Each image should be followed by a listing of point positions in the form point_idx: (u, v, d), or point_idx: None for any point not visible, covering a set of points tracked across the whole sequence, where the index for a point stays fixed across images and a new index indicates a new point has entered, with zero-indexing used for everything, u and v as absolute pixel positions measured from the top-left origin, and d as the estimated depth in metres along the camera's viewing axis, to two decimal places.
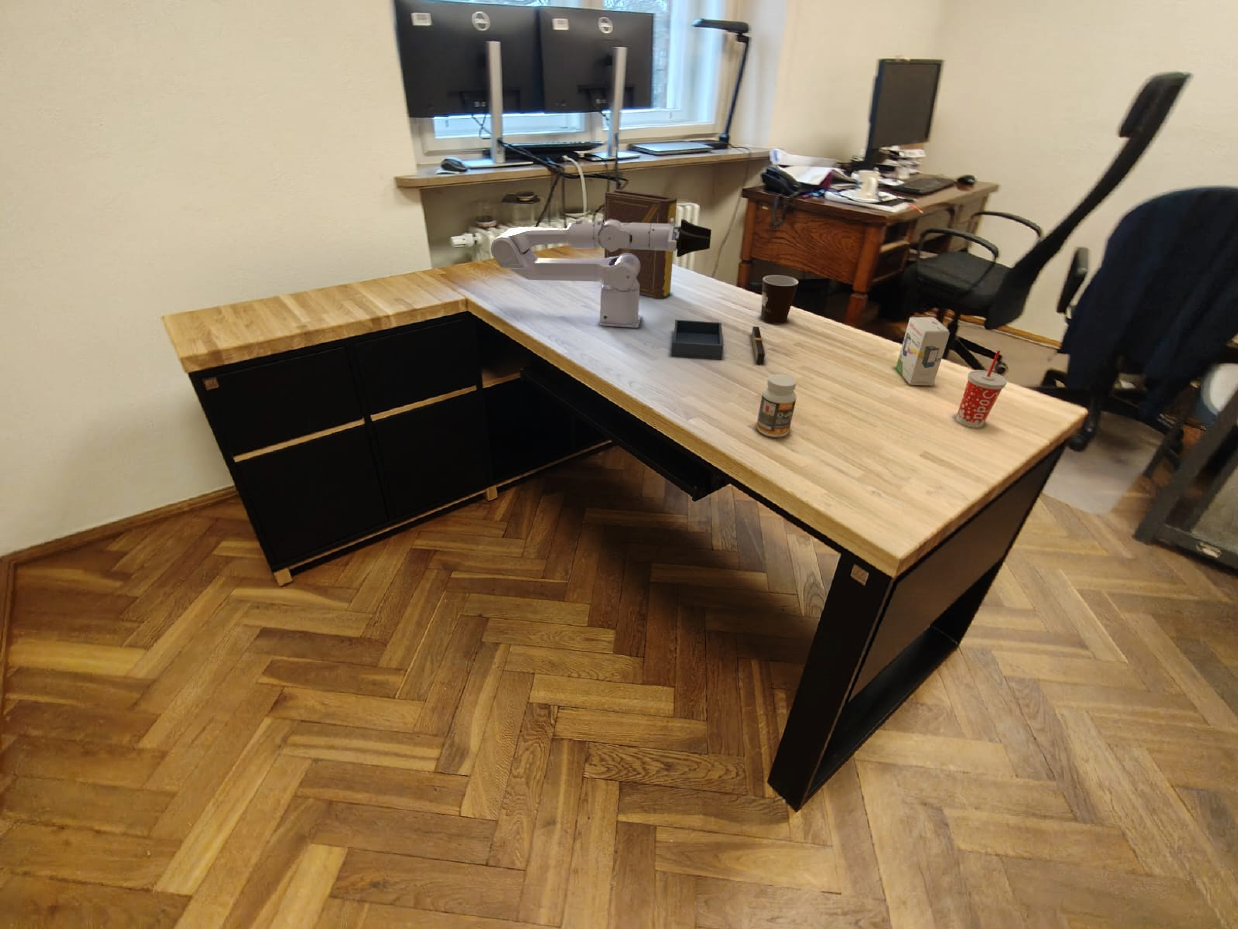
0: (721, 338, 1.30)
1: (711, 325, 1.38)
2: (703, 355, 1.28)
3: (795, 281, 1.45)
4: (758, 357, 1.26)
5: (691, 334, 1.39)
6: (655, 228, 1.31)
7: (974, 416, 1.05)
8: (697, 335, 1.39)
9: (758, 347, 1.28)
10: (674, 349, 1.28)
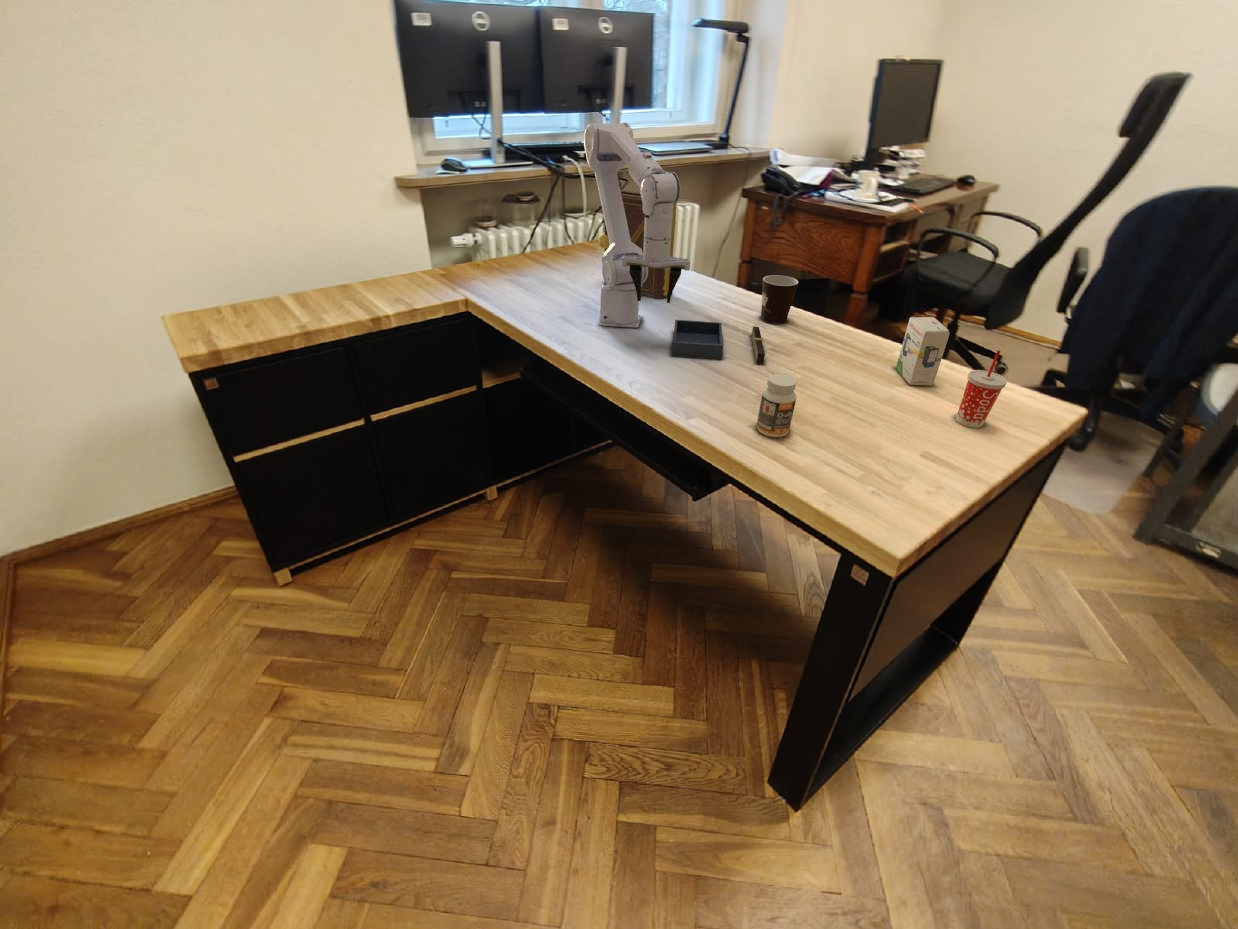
0: (721, 338, 1.30)
1: (711, 325, 1.38)
2: (703, 355, 1.28)
3: (795, 281, 1.45)
4: (758, 357, 1.26)
5: (691, 334, 1.39)
6: (648, 244, 1.21)
7: (974, 416, 1.05)
8: (697, 335, 1.39)
9: (758, 347, 1.28)
10: (674, 349, 1.28)
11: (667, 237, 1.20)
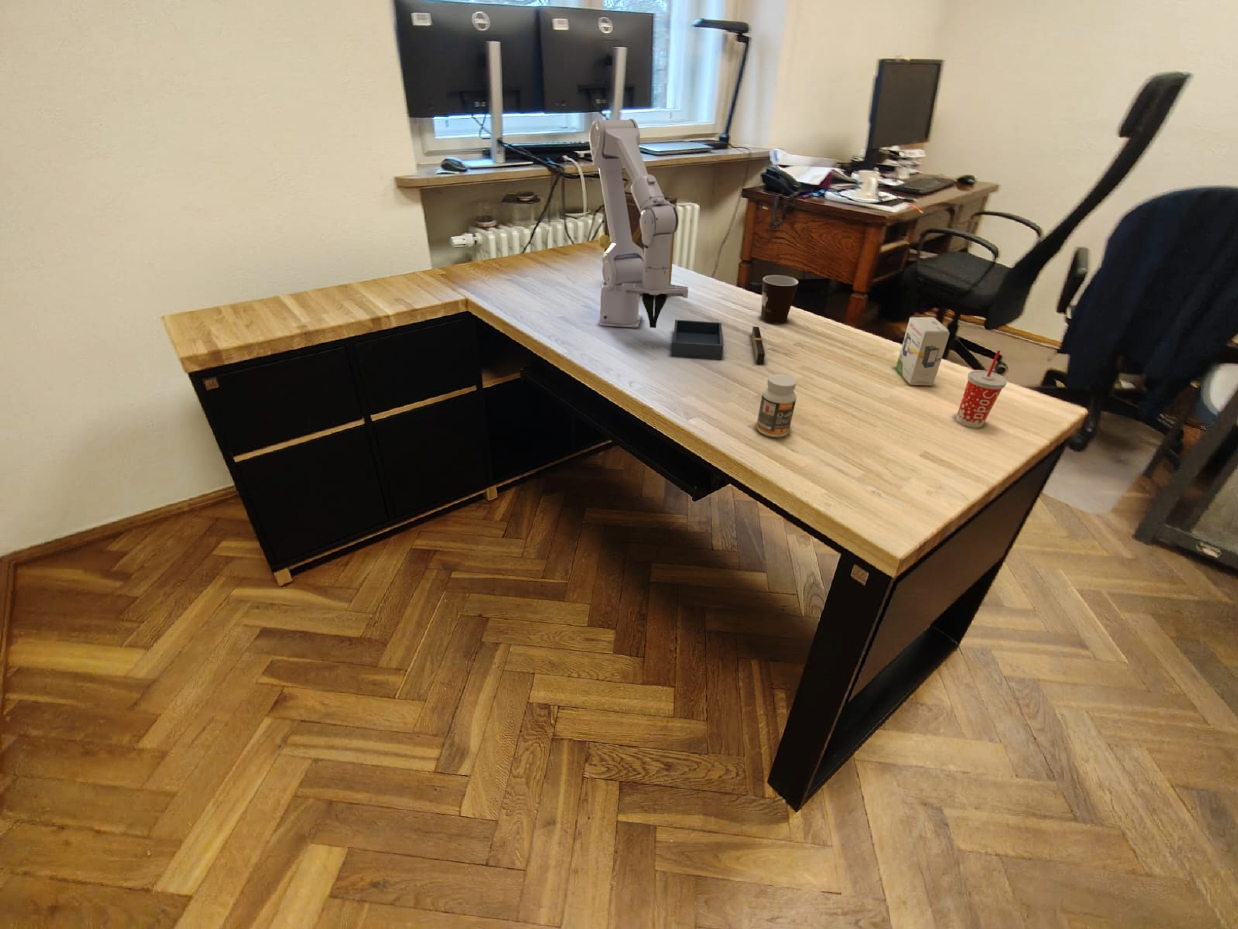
0: (721, 338, 1.30)
1: (711, 325, 1.38)
2: (703, 355, 1.28)
3: (795, 281, 1.45)
4: (758, 357, 1.26)
5: (691, 334, 1.39)
6: (647, 273, 1.24)
7: (974, 416, 1.05)
8: (697, 335, 1.39)
9: (758, 347, 1.28)
10: (674, 349, 1.28)
11: (666, 266, 1.24)
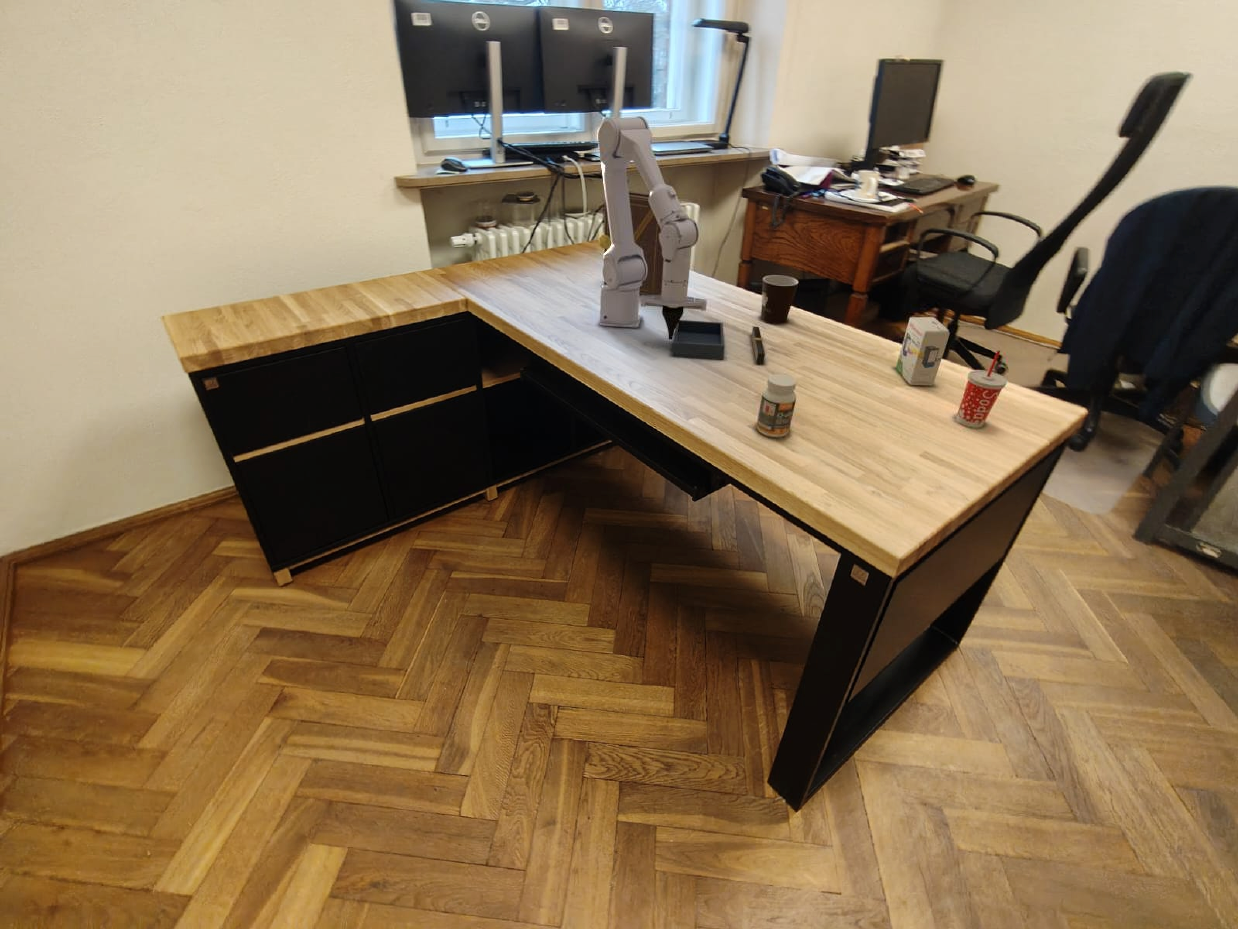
0: (722, 338, 1.30)
1: (712, 325, 1.38)
2: (704, 355, 1.28)
3: (795, 281, 1.45)
4: (758, 357, 1.26)
5: (692, 334, 1.39)
6: (666, 286, 1.26)
7: (974, 416, 1.05)
8: (698, 335, 1.39)
9: (758, 347, 1.28)
10: (675, 349, 1.28)
11: (687, 279, 1.25)
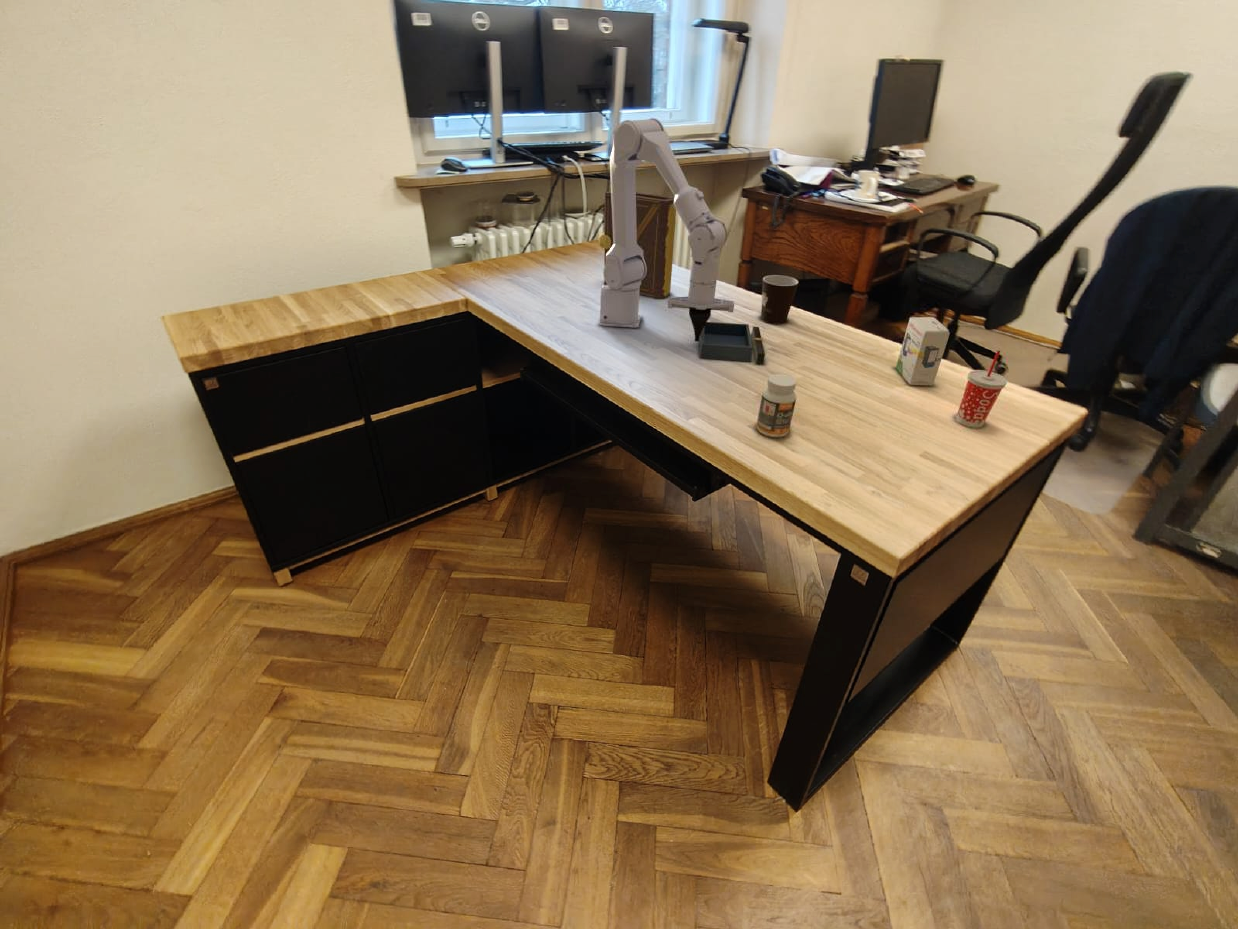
0: (750, 340, 1.29)
1: (738, 327, 1.38)
2: (732, 357, 1.28)
3: (795, 281, 1.45)
4: (758, 357, 1.26)
5: (718, 336, 1.38)
6: (694, 288, 1.25)
7: (974, 416, 1.05)
8: (724, 336, 1.38)
9: (758, 347, 1.28)
10: (703, 351, 1.28)
11: (716, 280, 1.25)
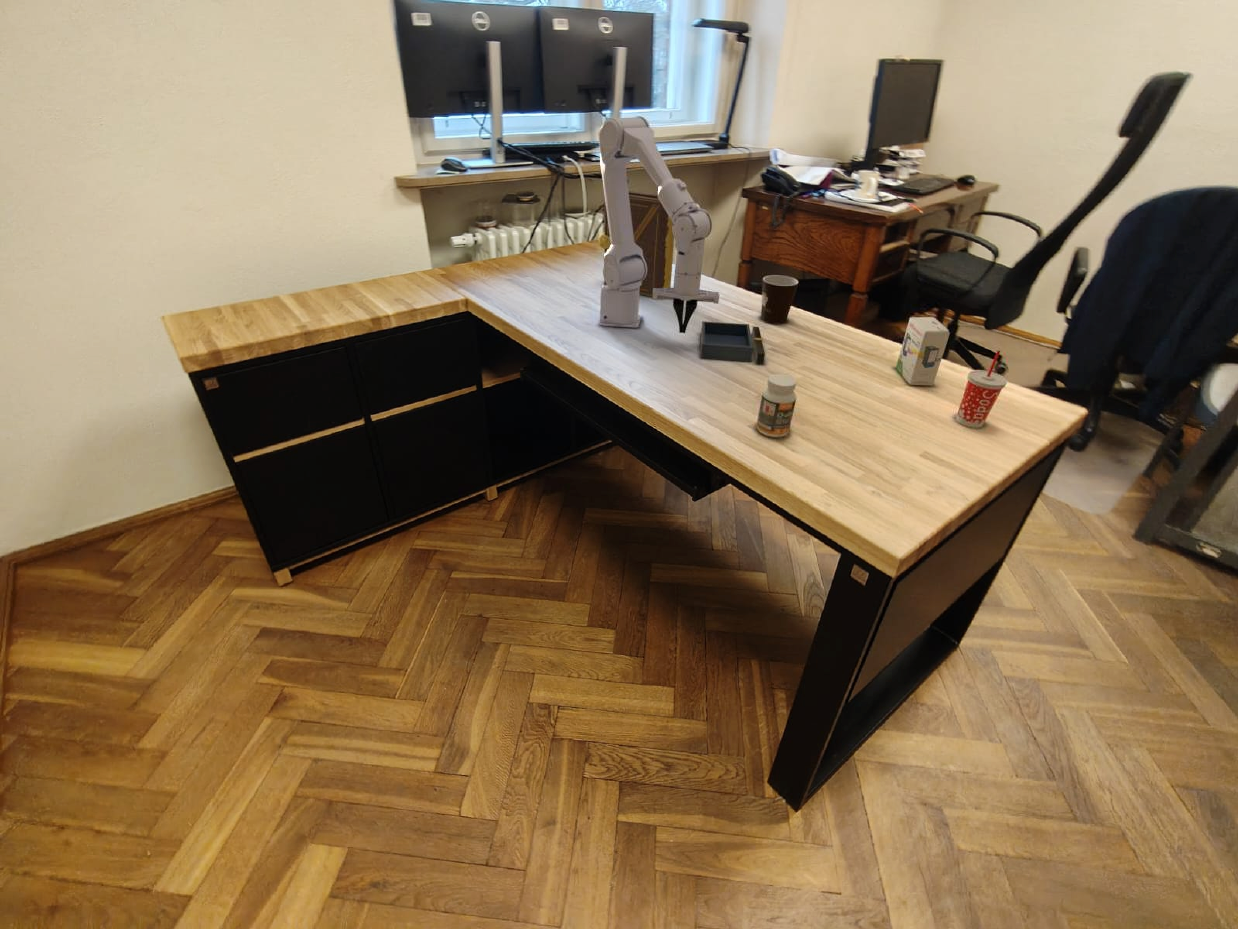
0: (750, 340, 1.29)
1: (738, 327, 1.38)
2: (732, 357, 1.28)
3: (795, 281, 1.45)
4: (758, 357, 1.26)
5: (718, 336, 1.38)
6: (679, 279, 1.24)
7: (974, 416, 1.05)
8: (725, 336, 1.38)
9: (758, 347, 1.28)
10: (703, 351, 1.28)
11: (700, 271, 1.24)
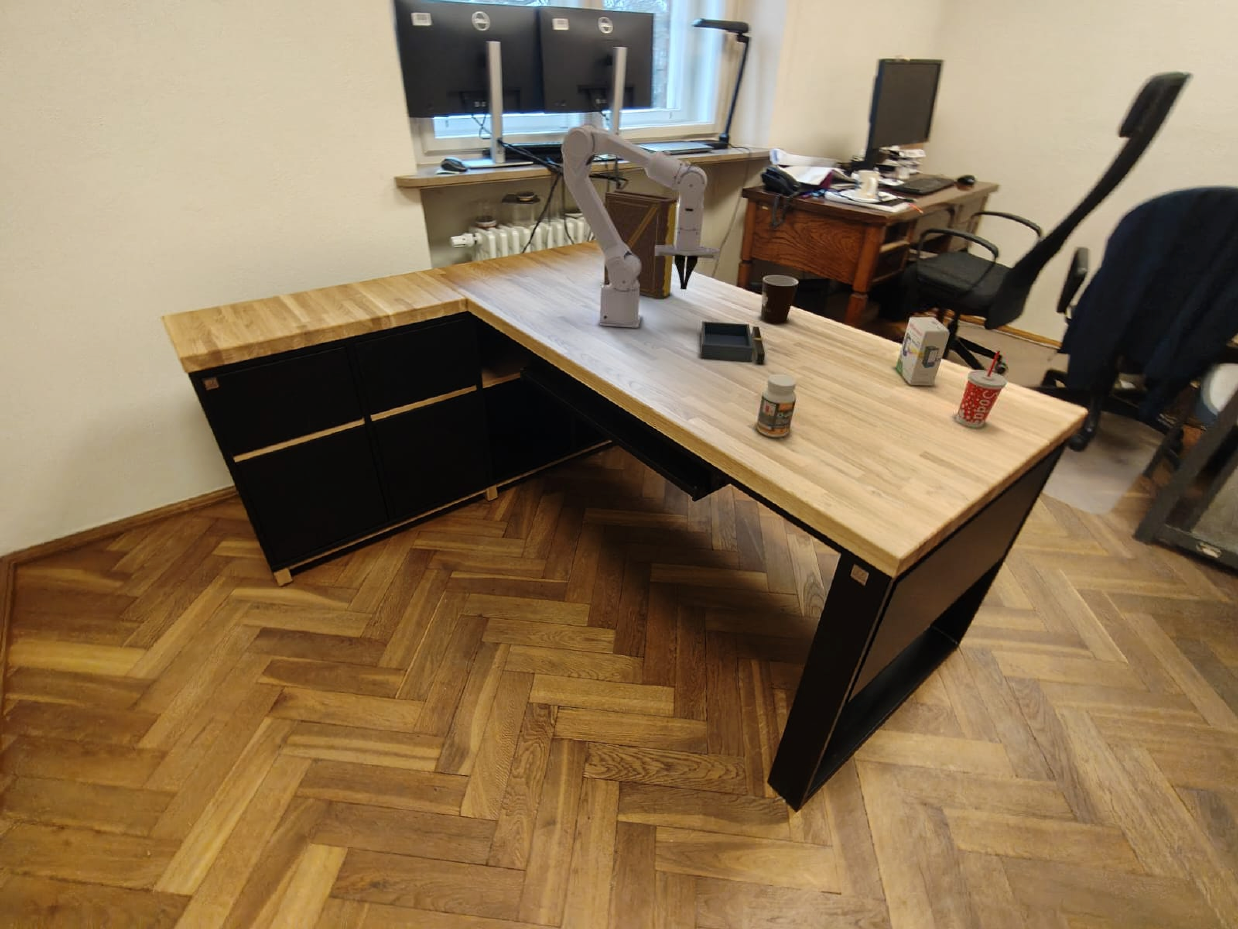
0: (750, 340, 1.29)
1: (738, 327, 1.38)
2: (732, 357, 1.28)
3: (795, 281, 1.45)
4: (758, 357, 1.26)
5: (718, 336, 1.38)
6: (680, 234, 1.29)
7: (974, 416, 1.05)
8: (725, 336, 1.38)
9: (758, 347, 1.28)
10: (703, 351, 1.28)
11: None
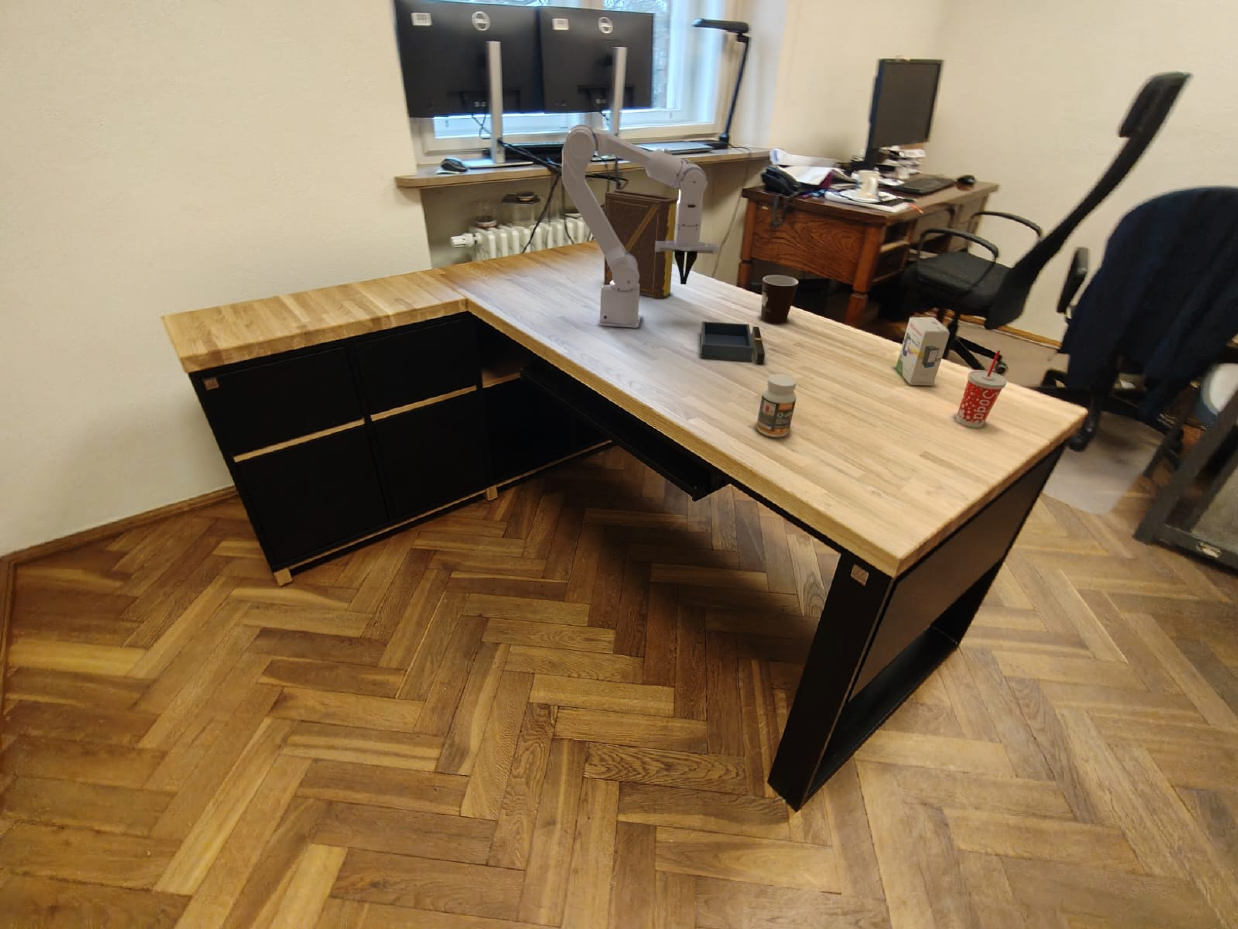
0: (750, 340, 1.29)
1: (738, 327, 1.38)
2: (732, 357, 1.28)
3: (795, 281, 1.45)
4: (758, 357, 1.26)
5: (718, 336, 1.38)
6: (680, 230, 1.32)
7: (974, 416, 1.05)
8: (725, 336, 1.38)
9: (758, 347, 1.28)
10: (703, 351, 1.28)
11: None
